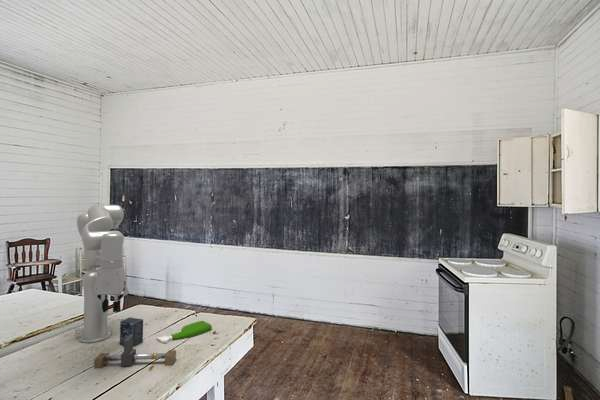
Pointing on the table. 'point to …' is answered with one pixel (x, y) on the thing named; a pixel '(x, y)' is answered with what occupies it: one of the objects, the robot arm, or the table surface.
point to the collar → (128, 352)
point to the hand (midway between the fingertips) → (110, 310)
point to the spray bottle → (188, 331)
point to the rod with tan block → (135, 358)
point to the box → (131, 330)
